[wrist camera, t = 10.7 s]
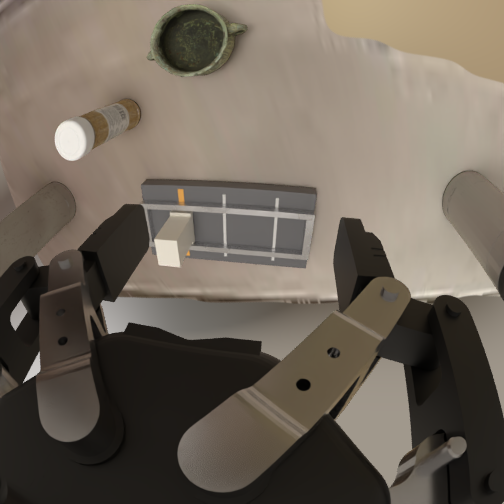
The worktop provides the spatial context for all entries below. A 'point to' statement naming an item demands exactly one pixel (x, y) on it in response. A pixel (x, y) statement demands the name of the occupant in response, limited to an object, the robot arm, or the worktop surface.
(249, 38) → the worktop surface
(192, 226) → the block
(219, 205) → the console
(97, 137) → the sprinkles bottle
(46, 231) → the thermos bottle
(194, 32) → the vessel
